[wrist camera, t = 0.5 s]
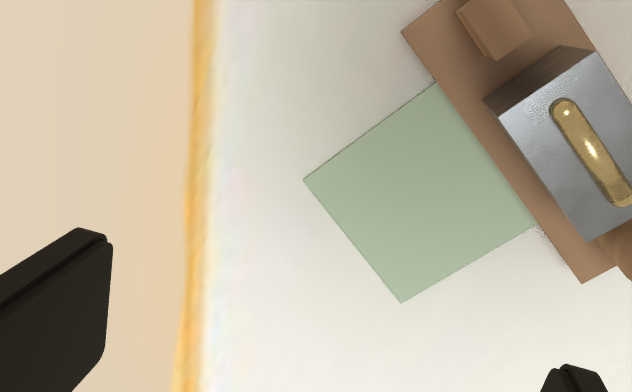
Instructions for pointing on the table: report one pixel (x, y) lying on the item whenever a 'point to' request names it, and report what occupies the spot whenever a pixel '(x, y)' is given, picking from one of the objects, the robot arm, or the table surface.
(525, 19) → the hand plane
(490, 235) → the mat
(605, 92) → the lever cap
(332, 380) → the table surface
